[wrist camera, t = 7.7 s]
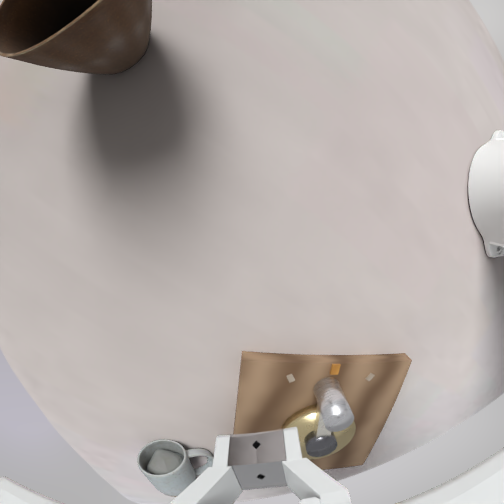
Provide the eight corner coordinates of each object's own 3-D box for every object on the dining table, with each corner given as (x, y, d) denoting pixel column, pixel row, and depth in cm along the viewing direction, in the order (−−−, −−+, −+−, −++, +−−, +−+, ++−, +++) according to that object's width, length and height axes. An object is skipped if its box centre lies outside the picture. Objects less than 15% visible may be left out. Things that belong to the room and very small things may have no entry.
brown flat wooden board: (405, 353, 34) (412, 361, 32) (359, 456, 38) (363, 465, 36) (242, 351, 33) (242, 361, 31) (230, 461, 37) (230, 471, 35)
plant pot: (124, -8, 23) (77, -76, 8) (207, 25, 25) (185, -69, 10) (52, 76, 26) (-27, 38, 10) (124, 123, 28) (36, 80, 12)
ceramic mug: (160, 467, 38) (152, 499, 30) (142, 437, 36) (131, 472, 29) (219, 466, 38) (218, 502, 31) (207, 437, 36) (203, 475, 29)
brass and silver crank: (363, 363, 31) (388, 402, 24) (346, 445, 35) (359, 482, 27) (281, 373, 31) (290, 417, 24) (279, 454, 34) (284, 494, 27)
